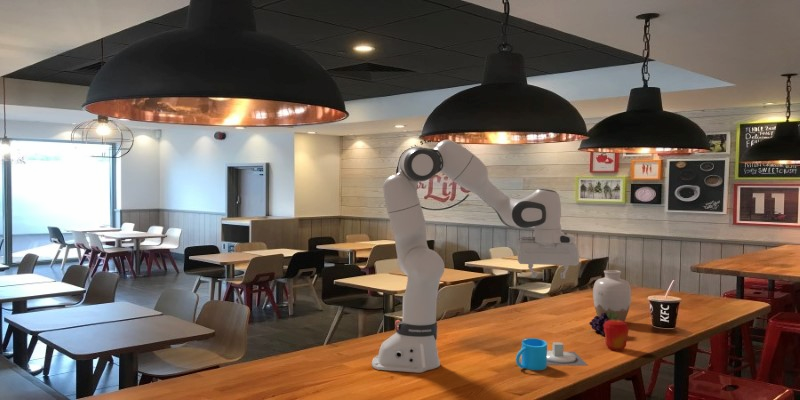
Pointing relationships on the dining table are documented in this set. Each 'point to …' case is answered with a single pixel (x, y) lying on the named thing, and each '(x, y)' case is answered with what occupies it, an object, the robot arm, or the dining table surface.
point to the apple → (616, 334)
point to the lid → (559, 354)
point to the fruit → (602, 321)
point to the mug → (533, 354)
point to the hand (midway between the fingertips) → (548, 277)
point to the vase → (612, 295)
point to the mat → (577, 362)
